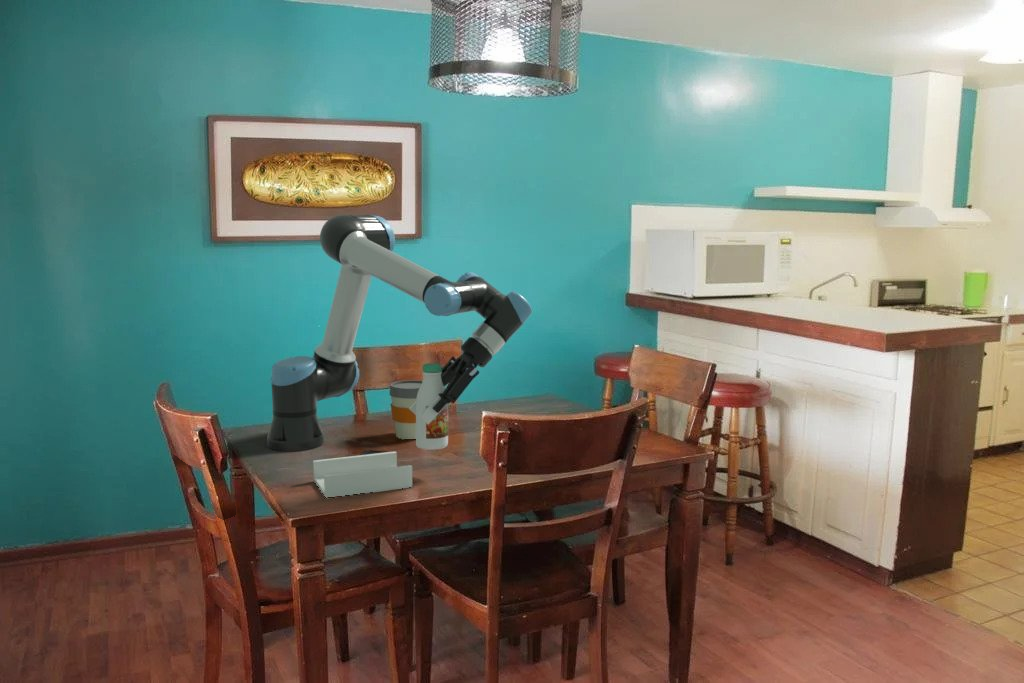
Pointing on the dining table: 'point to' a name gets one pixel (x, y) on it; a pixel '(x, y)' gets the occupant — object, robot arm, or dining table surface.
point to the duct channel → (361, 474)
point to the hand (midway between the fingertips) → (418, 416)
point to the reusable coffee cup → (404, 407)
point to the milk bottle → (430, 389)
